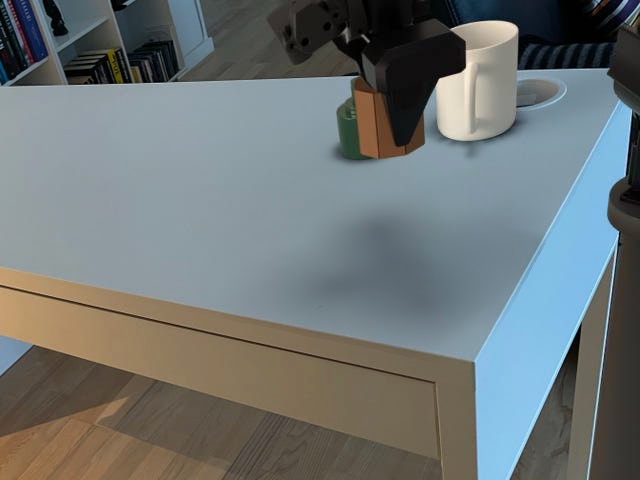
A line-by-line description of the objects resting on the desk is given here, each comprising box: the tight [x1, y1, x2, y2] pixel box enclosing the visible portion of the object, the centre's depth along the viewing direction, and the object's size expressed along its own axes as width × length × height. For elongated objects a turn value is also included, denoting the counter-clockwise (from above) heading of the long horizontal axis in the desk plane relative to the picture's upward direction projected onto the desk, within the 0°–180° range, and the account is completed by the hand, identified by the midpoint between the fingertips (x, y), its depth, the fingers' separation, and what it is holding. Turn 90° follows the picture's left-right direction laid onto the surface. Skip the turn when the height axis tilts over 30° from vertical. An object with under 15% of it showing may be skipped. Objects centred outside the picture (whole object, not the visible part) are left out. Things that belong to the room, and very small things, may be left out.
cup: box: [435, 20, 519, 142], centre depth 83 cm, size 8×12×10 cm
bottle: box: [335, 75, 373, 160], centre depth 88 cm, size 6×6×8 cm
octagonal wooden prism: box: [354, 77, 426, 160], centre depth 63 cm, size 5×5×6 cm
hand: (391, 131), depth 64 cm, fingers closed on octagonal wooden prism, 5 cm apart
